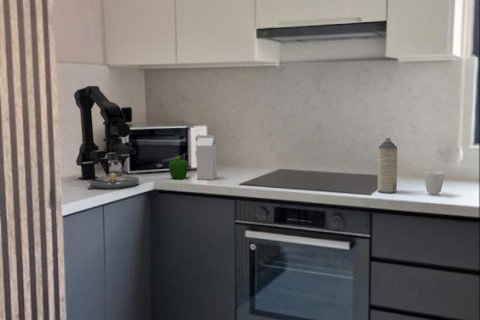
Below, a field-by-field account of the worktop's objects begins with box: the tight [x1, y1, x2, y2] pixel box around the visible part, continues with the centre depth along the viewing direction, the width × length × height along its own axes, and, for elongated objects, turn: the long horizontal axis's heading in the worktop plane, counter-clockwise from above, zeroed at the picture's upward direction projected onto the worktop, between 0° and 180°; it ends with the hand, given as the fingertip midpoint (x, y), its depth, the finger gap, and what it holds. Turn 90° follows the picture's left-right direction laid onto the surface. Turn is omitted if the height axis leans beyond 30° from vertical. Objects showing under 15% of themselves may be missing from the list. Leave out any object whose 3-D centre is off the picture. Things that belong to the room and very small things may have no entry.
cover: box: [105, 160, 123, 177], centre depth 230 cm, size 6×6×6 cm
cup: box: [423, 170, 445, 197], centre depth 199 cm, size 7×10×8 cm
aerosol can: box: [377, 137, 398, 195], centre depth 204 cm, size 7×7×20 cm
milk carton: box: [195, 134, 218, 181], centre depth 242 cm, size 7×7×19 cm
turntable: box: [89, 173, 140, 190], centre depth 230 cm, size 20×20×6 cm
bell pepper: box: [168, 156, 189, 180], centre depth 245 cm, size 8×8×10 cm
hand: (114, 173), depth 230 cm, fingers closed on cover, 6 cm apart
